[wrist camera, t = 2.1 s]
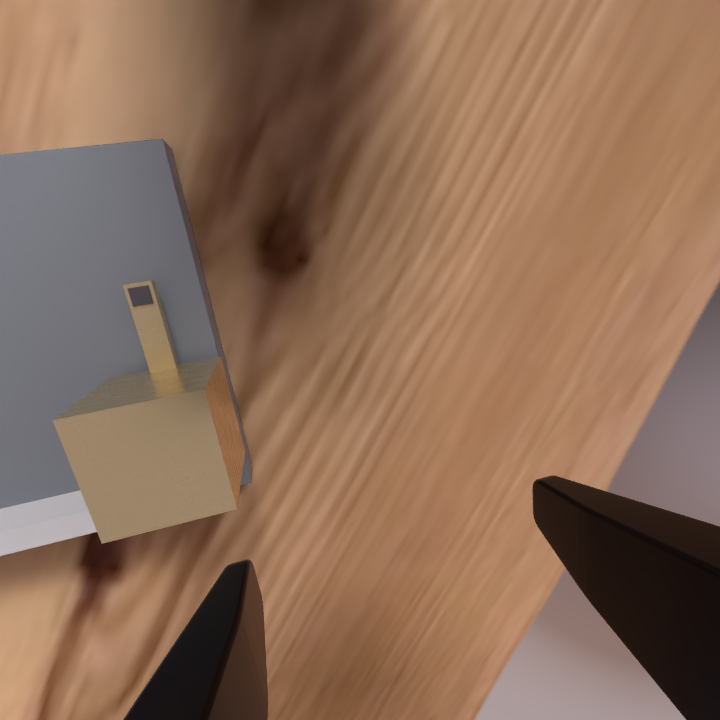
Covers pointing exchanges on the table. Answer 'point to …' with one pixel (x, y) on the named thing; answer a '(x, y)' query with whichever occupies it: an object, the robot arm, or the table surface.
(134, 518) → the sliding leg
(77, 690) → the table surface
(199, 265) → the hole plate
